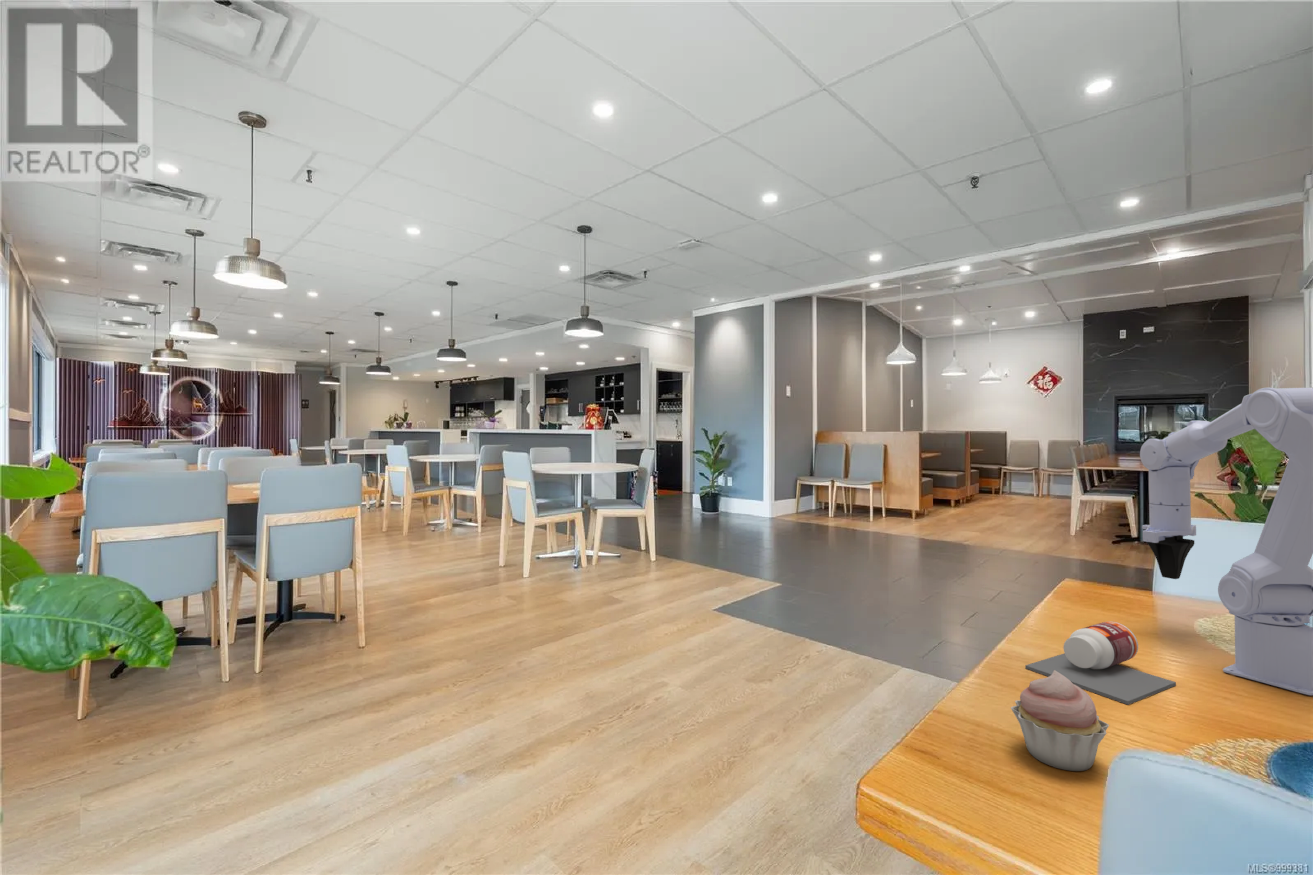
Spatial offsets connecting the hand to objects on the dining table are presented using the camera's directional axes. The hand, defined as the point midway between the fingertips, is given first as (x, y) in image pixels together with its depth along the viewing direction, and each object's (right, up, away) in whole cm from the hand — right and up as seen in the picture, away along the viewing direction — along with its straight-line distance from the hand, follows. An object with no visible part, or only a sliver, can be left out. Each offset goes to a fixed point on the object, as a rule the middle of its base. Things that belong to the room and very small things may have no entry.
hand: (1170, 577), depth 105 cm
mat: (-27, -11, -17) cm, 34 cm away
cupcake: (-48, -12, -39) cm, 63 cm away
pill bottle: (-19, -7, -12) cm, 24 cm away
